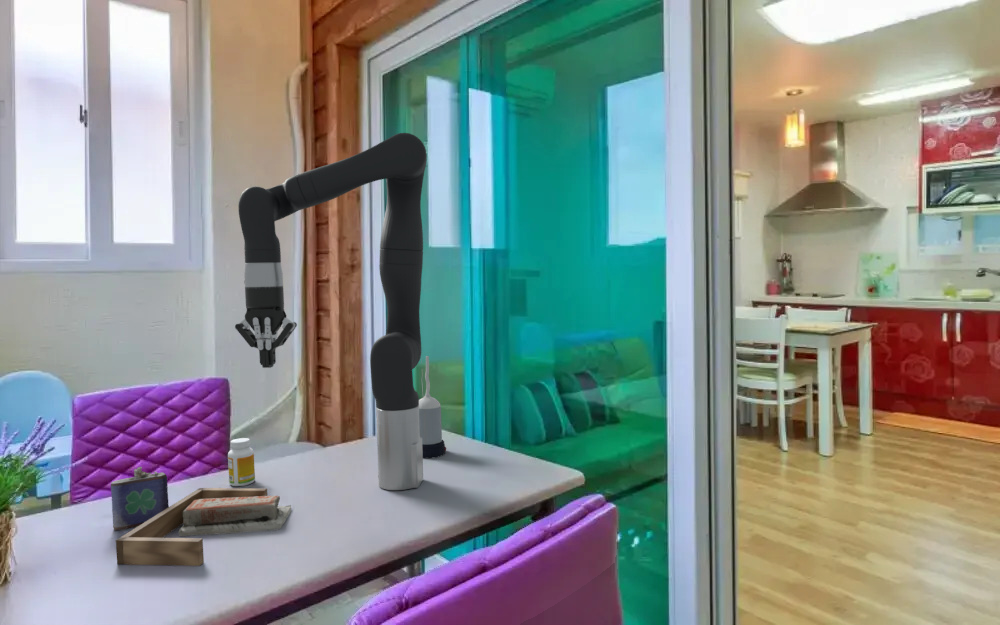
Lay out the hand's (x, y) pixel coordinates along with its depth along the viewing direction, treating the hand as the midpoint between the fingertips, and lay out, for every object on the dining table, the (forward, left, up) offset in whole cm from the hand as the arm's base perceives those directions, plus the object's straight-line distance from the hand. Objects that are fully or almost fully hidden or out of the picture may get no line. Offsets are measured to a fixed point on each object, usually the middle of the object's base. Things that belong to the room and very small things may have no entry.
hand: (267, 367), depth 132 cm
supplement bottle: (+10, -6, -27) cm, 30 cm away
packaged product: (0, +16, -28) cm, 32 cm away
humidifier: (-28, -29, -27) cm, 49 cm away
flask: (+18, +17, -27) cm, 37 cm away
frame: (+4, +21, -27) cm, 34 cm away
